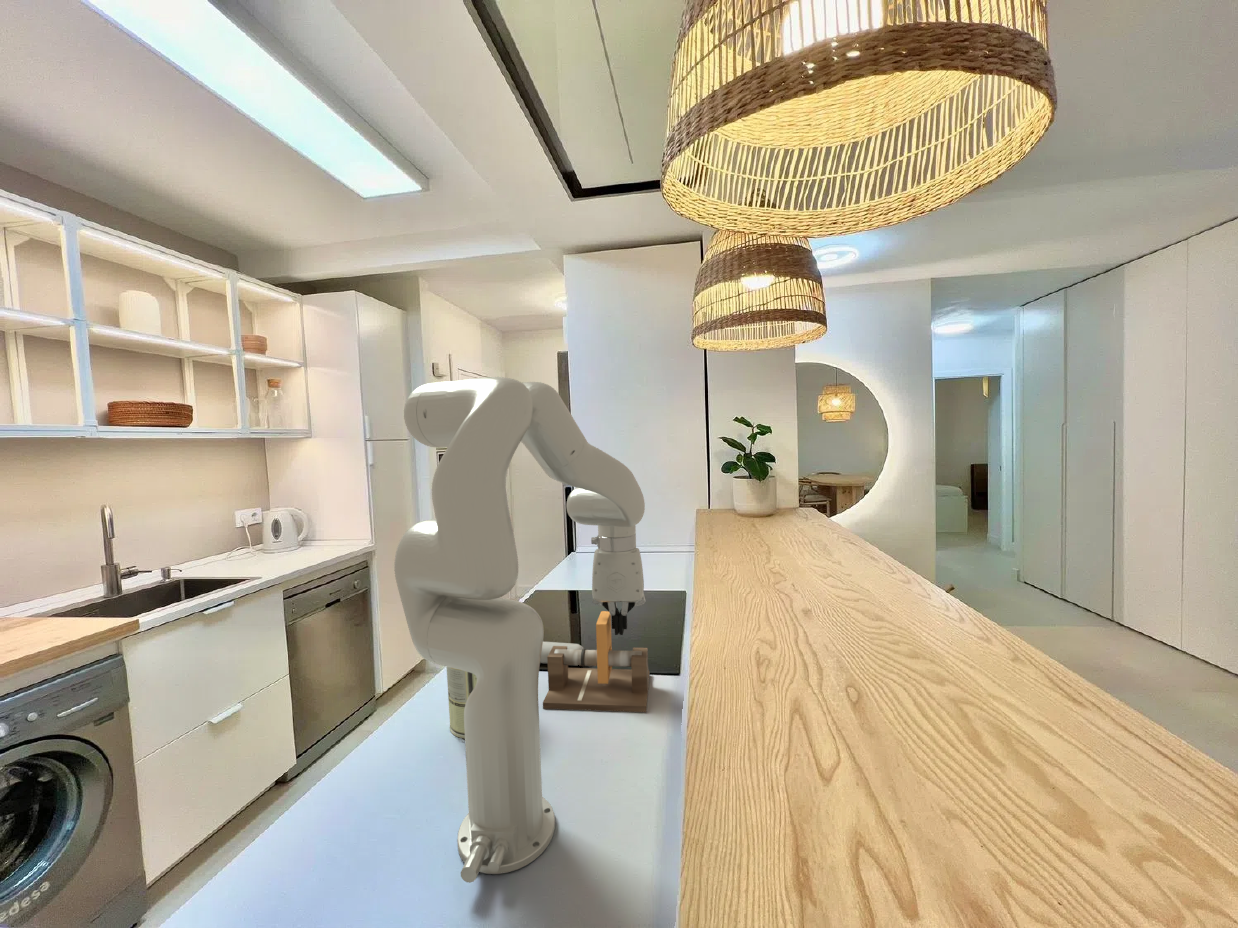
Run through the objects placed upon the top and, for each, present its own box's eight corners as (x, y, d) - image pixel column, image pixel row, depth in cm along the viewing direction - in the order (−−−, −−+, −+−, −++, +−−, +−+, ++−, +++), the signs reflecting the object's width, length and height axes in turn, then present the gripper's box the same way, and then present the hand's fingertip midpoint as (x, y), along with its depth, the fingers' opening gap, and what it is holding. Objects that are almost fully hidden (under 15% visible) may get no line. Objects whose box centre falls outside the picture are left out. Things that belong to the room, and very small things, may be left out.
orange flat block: (607, 683, 95) (606, 624, 95) (597, 683, 96) (596, 624, 95) (612, 666, 102) (610, 611, 102) (602, 666, 103) (601, 611, 102)
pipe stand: (646, 712, 91) (645, 668, 91) (542, 708, 93) (541, 665, 93) (649, 675, 105) (648, 636, 105) (559, 672, 107) (558, 635, 107)
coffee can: (475, 701, 97) (472, 633, 96) (517, 713, 92) (514, 641, 91) (436, 731, 87) (432, 655, 86) (481, 745, 83) (477, 665, 82)
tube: (588, 642, 114) (490, 635, 119) (582, 644, 109) (480, 637, 114) (586, 666, 113) (487, 658, 118) (580, 669, 108) (477, 661, 113)
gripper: (576, 547, 94) (579, 639, 95) (653, 547, 92) (655, 641, 93) (584, 539, 101) (586, 624, 103) (655, 539, 100) (657, 625, 101)
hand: (619, 632), depth 98 cm, fingers closed
